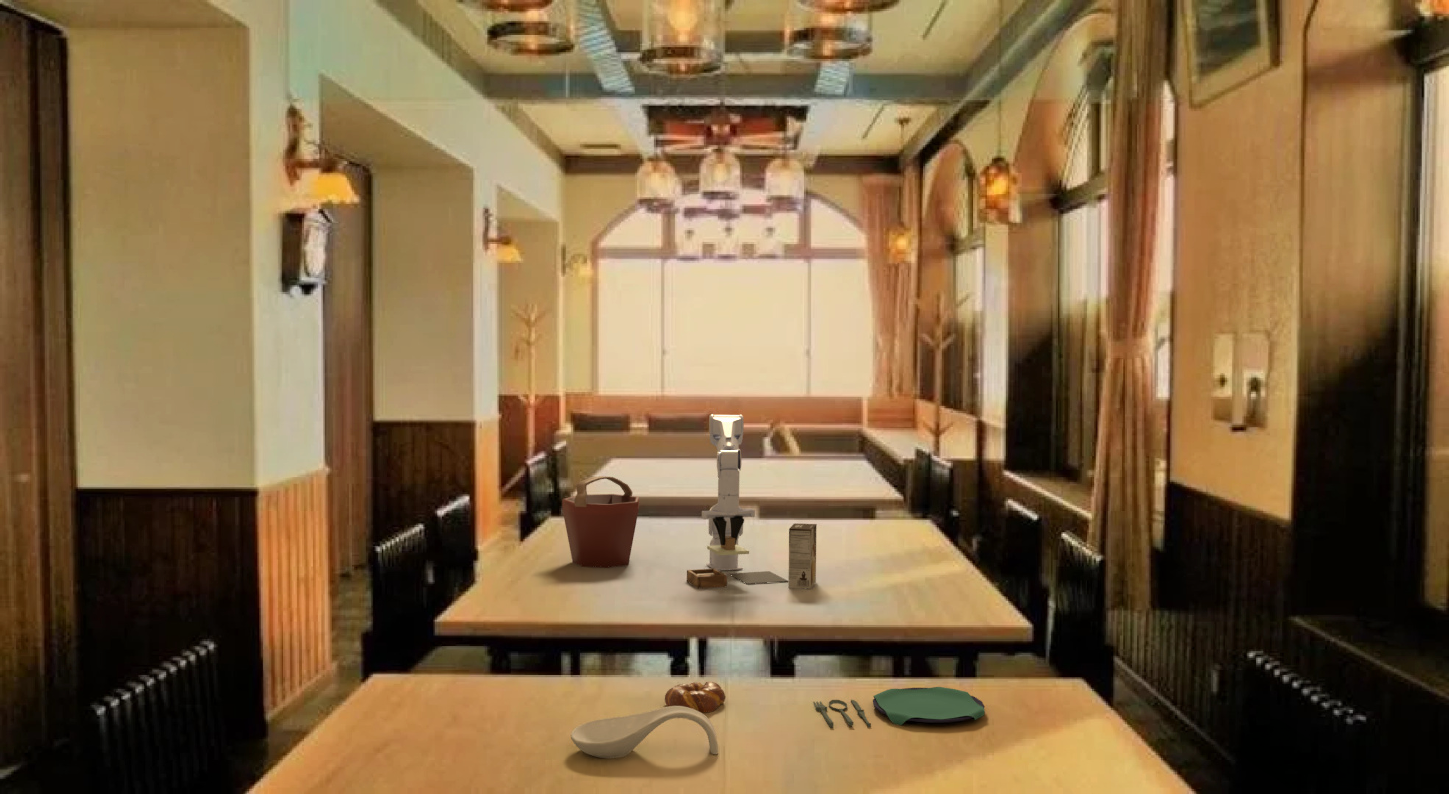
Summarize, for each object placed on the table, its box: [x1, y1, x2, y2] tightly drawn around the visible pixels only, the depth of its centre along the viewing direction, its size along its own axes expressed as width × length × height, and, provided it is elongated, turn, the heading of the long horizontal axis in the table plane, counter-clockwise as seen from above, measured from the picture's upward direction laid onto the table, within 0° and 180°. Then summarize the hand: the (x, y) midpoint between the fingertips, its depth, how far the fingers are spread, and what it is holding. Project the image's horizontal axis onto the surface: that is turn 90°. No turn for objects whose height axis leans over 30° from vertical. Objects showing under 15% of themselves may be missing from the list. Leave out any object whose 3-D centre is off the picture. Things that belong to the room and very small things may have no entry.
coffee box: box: [788, 523, 817, 590], centre depth 327 cm, size 9×6×16 cm
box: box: [686, 568, 728, 589], centre depth 328 cm, size 10×8×3 cm
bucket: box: [561, 475, 640, 569], centre depth 356 cm, size 24×22×25 cm
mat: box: [728, 570, 789, 585], centre depth 336 cm, size 14×12×1 cm
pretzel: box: [664, 681, 726, 714], centre depth 222 cm, size 12×11×4 cm
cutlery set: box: [812, 686, 986, 728], centre depth 219 cm, size 20×30×2 cm, turn 96°
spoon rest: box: [570, 706, 719, 759], centre depth 197 cm, size 24×12×7 cm, turn 95°
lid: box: [706, 536, 750, 555], centre depth 329 cm, size 10×8×4 cm
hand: (728, 544), depth 329 cm, fingers closed on lid, 2 cm apart
